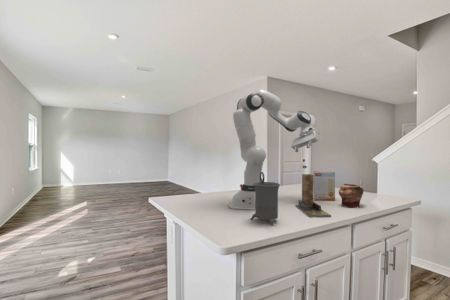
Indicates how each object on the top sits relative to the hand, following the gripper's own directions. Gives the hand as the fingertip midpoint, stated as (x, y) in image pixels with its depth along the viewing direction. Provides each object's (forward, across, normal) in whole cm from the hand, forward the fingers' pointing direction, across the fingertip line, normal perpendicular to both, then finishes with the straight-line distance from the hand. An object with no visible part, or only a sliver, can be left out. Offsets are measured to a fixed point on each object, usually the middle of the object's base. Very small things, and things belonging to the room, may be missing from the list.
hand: (302, 149), depth 162 cm
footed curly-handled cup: (+57, 0, -10) cm, 58 cm away
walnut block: (+30, -4, +20) cm, 36 cm away
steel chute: (+35, +2, +18) cm, 40 cm away
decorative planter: (+15, +8, +47) cm, 50 cm away
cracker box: (+10, -12, +44) cm, 47 cm away
